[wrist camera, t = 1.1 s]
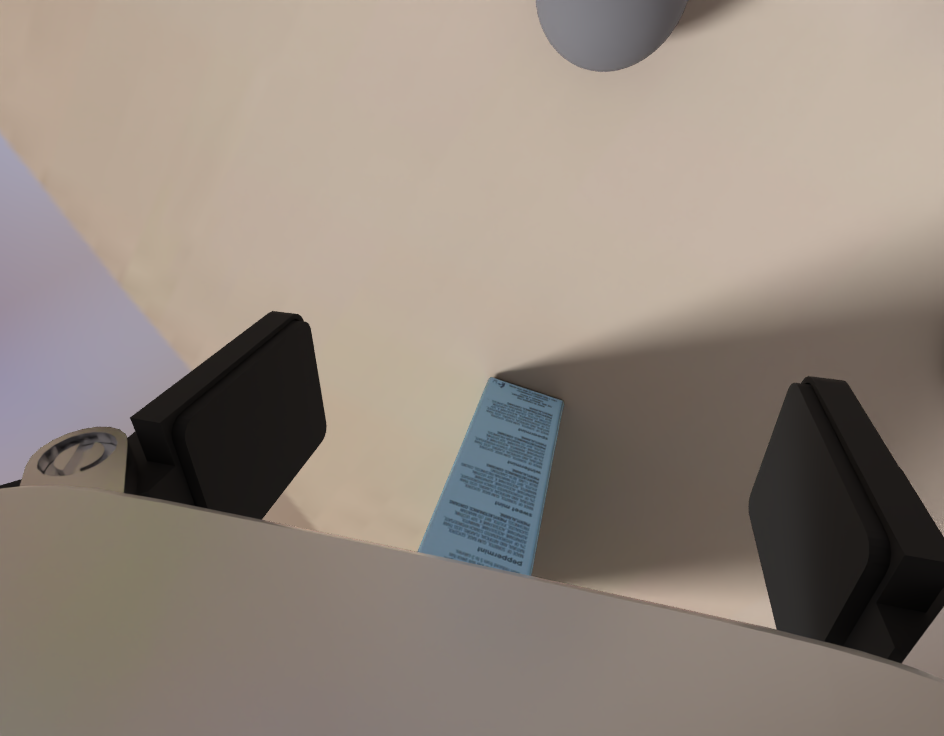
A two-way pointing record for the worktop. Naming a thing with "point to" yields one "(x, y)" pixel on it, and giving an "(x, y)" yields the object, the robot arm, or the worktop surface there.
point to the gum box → (498, 481)
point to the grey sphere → (608, 29)
